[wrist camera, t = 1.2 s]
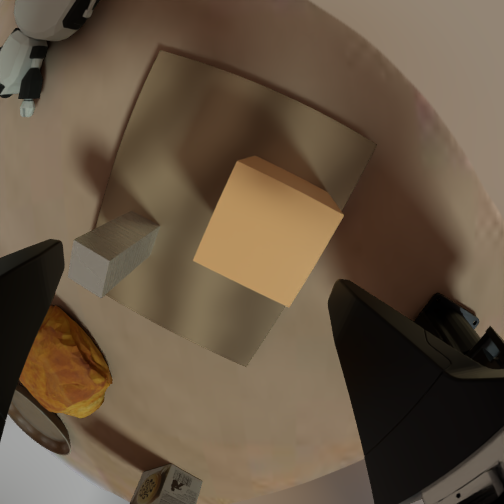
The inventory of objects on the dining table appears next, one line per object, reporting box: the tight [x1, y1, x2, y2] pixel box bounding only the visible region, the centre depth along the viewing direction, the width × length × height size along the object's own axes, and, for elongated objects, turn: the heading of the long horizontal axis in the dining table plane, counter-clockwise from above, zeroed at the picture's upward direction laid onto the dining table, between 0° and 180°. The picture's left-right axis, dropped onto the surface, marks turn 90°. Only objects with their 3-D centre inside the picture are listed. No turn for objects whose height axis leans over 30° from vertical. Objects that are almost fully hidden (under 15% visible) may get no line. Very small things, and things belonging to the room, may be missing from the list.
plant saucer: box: [8, 384, 71, 455], centre depth 37 cm, size 18×18×3 cm
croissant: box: [19, 305, 112, 418], centre depth 27 cm, size 14×16×8 cm
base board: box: [96, 50, 377, 367], centre depth 21 cm, size 16×20×1 cm
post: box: [68, 211, 160, 298], centre depth 19 cm, size 3×3×7 cm
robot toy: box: [0, 0, 100, 117], centre depth 16 cm, size 12×4×15 cm
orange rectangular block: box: [193, 156, 344, 307], centre depth 17 cm, size 5×5×7 cm
